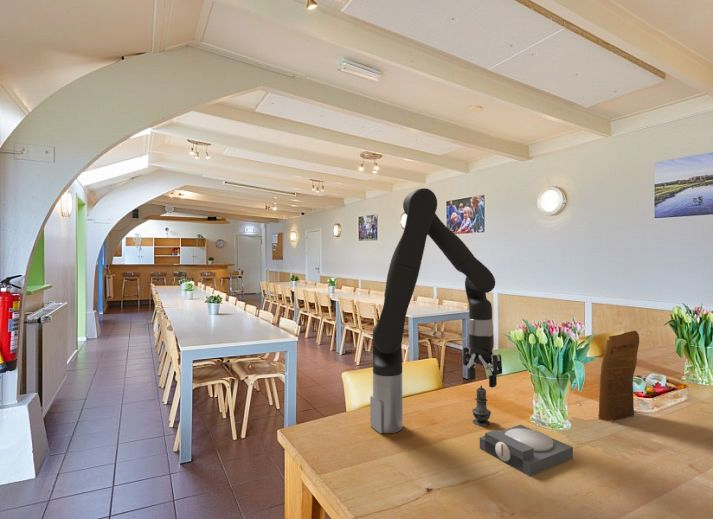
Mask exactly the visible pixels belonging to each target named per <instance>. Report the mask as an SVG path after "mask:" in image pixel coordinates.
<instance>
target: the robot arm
mask: <svg viewBox="0 0 713 519" xmlns="http://www.w3.org/2000/svg"><path fill="white" fill-rule="evenodd" d="M402 208H403V211H404V214H405V215H406V220H405V226H404V229H403V233H402V235H401V237H400V239H399V240H398V241H399V242H398V243H397V245H396V247H395V249H394V252H393V254H392V255H391V256H392V257H391V259H390V264H389V266H388V270H387V271H388V272H387V276H386V283H385V290H384V299H383V300H384V301H383V307H382V309H381V313H380V316H379V319H378V321H377V323H376V324H375V326H374V328H373V330H372V395H370V396H369V397H370V407H369V409H370V427H371V428H373V430H375V431H377V433H379V434H394V433H398V432H400V431H401V430H403V425H404V424H403V422H404V421H403V420H404V418H403V416H404V414H403V413H404V412H403V411H404V409H403V401H404V400H403V355H402V352H403V351H402V344H403V340H404V339H403V337H404V330H405V329H404V328H405V323H406V318H407V317H406V316H407V312H408V308H409V305H410V303H411V300H412V299H413V295H414V291H415V288H416V284H417V282H418V277H419V275H420V270H421V264H422V260H423V256H424V252H425V247H426V242H427V238H428V237H429V238H430V239H431V240H432V242H434V243H435V245H436V246H437V247H438V248H439V250H440V251H441V252H442V253H443V255H444V256H445V258H446V259H447V260H448V261H449V262H450V264H451V265H452V266H453V267H454V268H455V270H456V271H458V272H459V273H462V274H463V275H464V276H465V280H464V288H465V289H464V290H465V293H466V298H467V301H468V314H469V315H468V317H469V318H468V319H469V320H468V346H466V347H463V349H462V355H463V356H462V365H463V366H466V368H467V376H468V380H470V381H475V380H476V366H477V365H480V366H483V367H484V369H485V370H487V372H488V387H489V388H495V387H496V386H497V384H498V383H497V378H498V377H497V375H502V374H503V363H502V361H503V360H502V355H501V354H500V353H499V354H496V353H495V354H494V353H493V348H494V347H495V346H494V323H493V322H494V321H493V304H492V303H491V301H490V300H489V299H488V298H487V293H488V294H489V293H490V292H492V291H493V290H494V289H495V286H496V278H495V276H494V274H493V273H492V271H490V269H489V268H488V267H487V266H486V265H485V264H484V263H482V261H480V260H479V259H477V258H476V257H475V255H474V254H473V252H472V251H471V250H470V249H469V247H468V246H467V245H466V244H465V243H464V241H463V240H462V239H461V238H460V237H459V236H458V235H457V234H455V233H454V232H453V231H452V230H451V229H450V228H449V227H448V226H446V224H445V223H443V221H442V220H441V219H440V218H439V216H438V215H437V213H436V212H437V209H438V199H437V196H436V194H435V193H434V192H433V191H432V190H431V189H429V188H426V187H425V188H418V189H415V190H413V191H411V192H410V193H408V194H407V195H406V196H405V197H404V199H403V203H402Z"/></svg>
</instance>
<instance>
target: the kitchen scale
mask: <svg viewBox="0 0 713 519" xmlns="http://www.w3.org/2000/svg"><path fill="white" fill-rule="evenodd" d="M479 450H482V451H483V452H485V453H487V454H489V455H490V456H493V457H495V458H496V459H498V460H499V461H502V462H503V463H506V464H507V465H509V466H511V467H513V468H514V469H516V470H518V471H520V473H521V472H522V473H523V474H525V475H527V476H528V477H531V476H535V475H537V474H539V473H541V472H544V471H547V470H548V469H549V470H550V469H551V468H553V467H556V466H559V465H561V464H563V463H565V462H568V461H570V460H573V458H574V453H573V452H574V447H573V446H571V445H569V444H566V443H564V442H562V441H559V440H557V439H555V438H552V437H551V436H550V435H547V434H546V433H543V432H541V431H538V430H535V429H532V428H530V427H527V426H524V425H522V424H519V425H516V426H512V427H509V428H506V429H503V430H496V429H494V430H491V431H487V432H485V433H484V435H483V436H480V437H479Z"/></svg>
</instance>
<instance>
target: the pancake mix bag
mask: <svg viewBox="0 0 713 519" xmlns="http://www.w3.org/2000/svg"><path fill="white" fill-rule="evenodd" d="M639 345H640V334H639V333H638V331H637V330H632V331H626V332H623V333H620V334H614V335H611V336H608V339H606V344H605V348H604V352H603V356H602V360H601V365H600V366H601V367H600V376H599V397H598V419H599V420H603V421H617V420H620V419H621V420H622V419H625V418H630V417H634V416H635V407H634V405H635V403H634V375H635V371H636V368H637V363H638V361H637V360H638V352H639Z"/></svg>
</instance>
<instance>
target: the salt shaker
mask: <svg viewBox="0 0 713 519" xmlns="http://www.w3.org/2000/svg"><path fill="white" fill-rule="evenodd" d="M475 400H476V401H475V402H476V407H475V408H473V409H472V410H471V412H472V416H474V417H473V418H475V419H473V420H472V423H473V424H475V425H476V426H479V427H480V426H481V427H488V426H491V422H490V421H489V419H490V417H491V414H492V411H491V410H490V409H488V408H487V402H488V399H487V390H486V389H485V388H484V387H483V385H482V384H481V385H480V386H479V387H478V388H477V389H476V398H475Z"/></svg>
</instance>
